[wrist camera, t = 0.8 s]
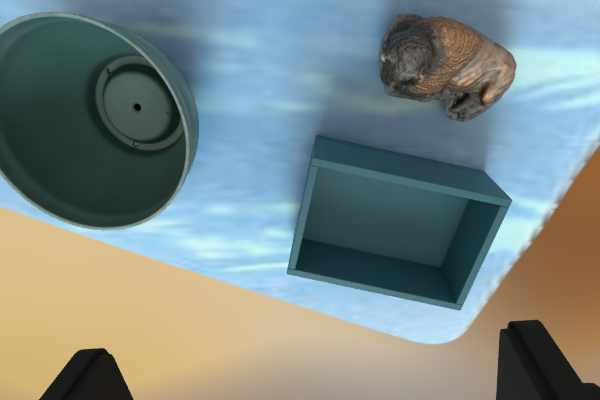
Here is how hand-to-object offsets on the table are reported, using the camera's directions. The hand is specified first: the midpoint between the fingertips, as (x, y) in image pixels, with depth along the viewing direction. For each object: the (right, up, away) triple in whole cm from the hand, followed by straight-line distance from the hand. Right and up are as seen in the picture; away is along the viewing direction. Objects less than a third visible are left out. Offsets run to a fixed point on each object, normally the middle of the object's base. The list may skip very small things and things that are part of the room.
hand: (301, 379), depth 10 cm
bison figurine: (+12, +16, +26) cm, 33 cm away
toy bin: (+9, +4, +32) cm, 33 cm away
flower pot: (-15, +14, +29) cm, 36 cm away
